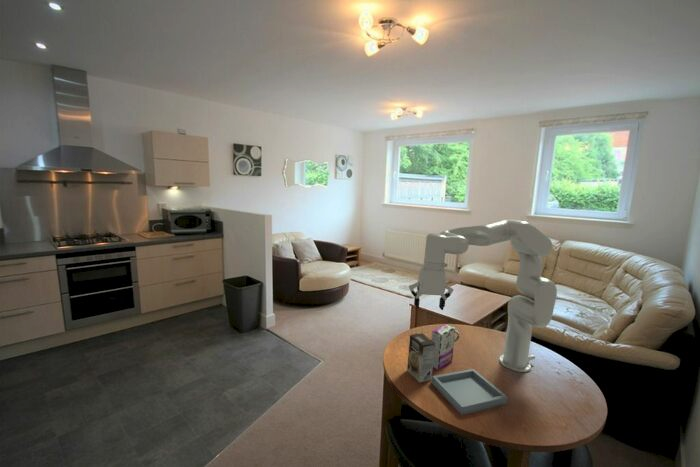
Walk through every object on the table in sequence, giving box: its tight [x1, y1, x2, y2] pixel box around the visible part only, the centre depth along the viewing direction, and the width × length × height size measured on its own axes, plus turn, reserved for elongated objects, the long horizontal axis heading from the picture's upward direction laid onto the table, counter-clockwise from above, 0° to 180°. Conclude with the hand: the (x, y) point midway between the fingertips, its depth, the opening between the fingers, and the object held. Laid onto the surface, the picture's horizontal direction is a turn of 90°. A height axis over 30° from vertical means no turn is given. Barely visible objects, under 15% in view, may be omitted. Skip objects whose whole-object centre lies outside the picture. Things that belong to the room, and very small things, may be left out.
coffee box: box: [406, 332, 436, 383], centre depth 127 cm, size 9×6×16 cm
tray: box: [431, 368, 509, 416], centre depth 118 cm, size 20×18×3 cm
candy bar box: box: [431, 323, 456, 371], centre depth 136 cm, size 11×5×16 cm, turn 131°
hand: (428, 307), depth 122 cm, fingers open, 9 cm apart
